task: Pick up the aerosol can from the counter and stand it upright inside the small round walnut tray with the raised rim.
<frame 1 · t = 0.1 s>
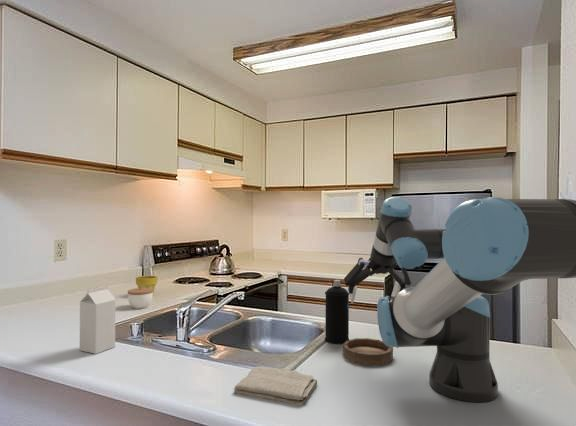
hand: (372, 299, 120), 15 cm above the counter, tool tilted 35°, fingers open, 13 cm apart
milk carton: (97, 349, 118), on the counter
plant pot: (146, 296, 195), on the counter
washcloth: (276, 391, 92), on the counter
round tray: (367, 356, 113), on the counter
lidded jar: (140, 307, 172), on the counter
aerosol can: (336, 340, 127), on the counter
coffee mug: (401, 332, 136), on the counter
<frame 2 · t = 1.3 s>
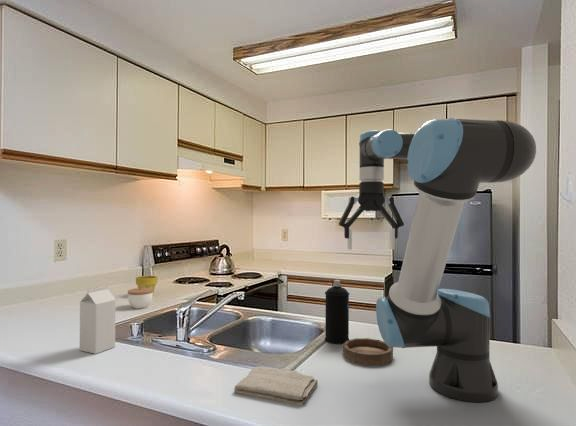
hand: (370, 249, 120), 31 cm above the counter, tool pointing down, fingers open, 13 cm apart
nothing on the counter moved.
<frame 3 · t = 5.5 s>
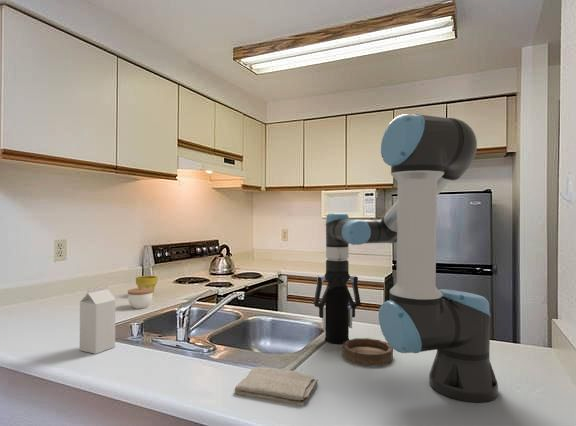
hand: (337, 327, 127), 4 cm above the counter, tool pointing down, fingers closed on aerosol can, 8 cm apart
aerosol can: (336, 340, 127), on the counter, touching gripper
everything else where it was.
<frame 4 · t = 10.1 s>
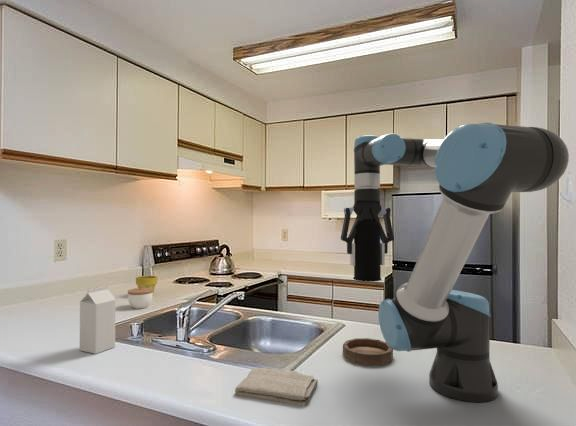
hand: (367, 264, 113), 27 cm above the counter, tool pointing down, fingers closed on aerosol can, 8 cm apart
aerosol can: (367, 280, 113), point 23 cm above the counter, touching gripper
everything else where it was.
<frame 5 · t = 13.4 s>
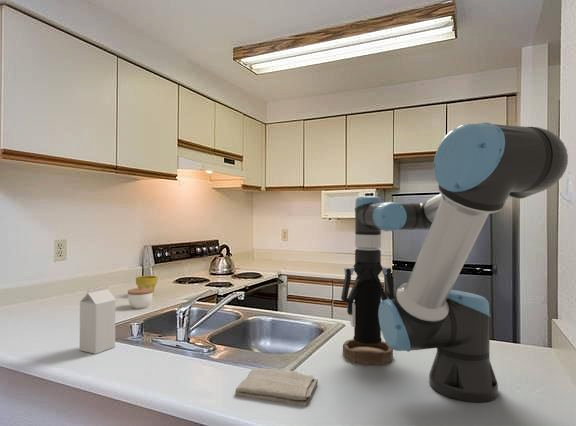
hand: (367, 325, 113), 9 cm above the counter, tool pointing down, fingers closed on aerosol can, 8 cm apart
aerosol can: (367, 340, 113), point 5 cm above the counter, touching gripper
everything else where it was.
when the fingers open (7 cm above the counter, at t = 15.0 s): aerosol can drops 1 cm, resting on round tray.
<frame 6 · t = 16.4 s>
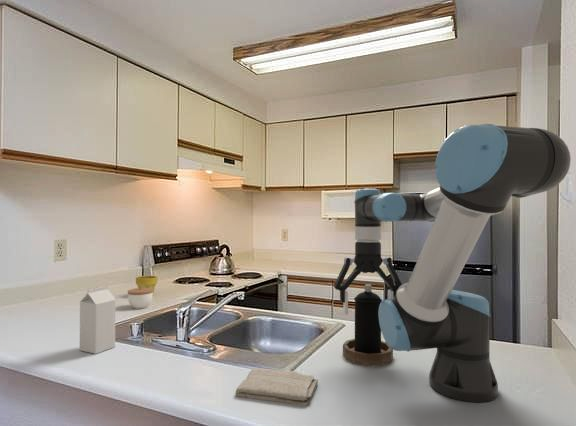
hand: (368, 313, 113), 13 cm above the counter, tool pointing down, fingers open, 13 cm apart
aerosol can: (367, 353, 113), point 1 cm above the counter, touching round tray
everything else where it was.
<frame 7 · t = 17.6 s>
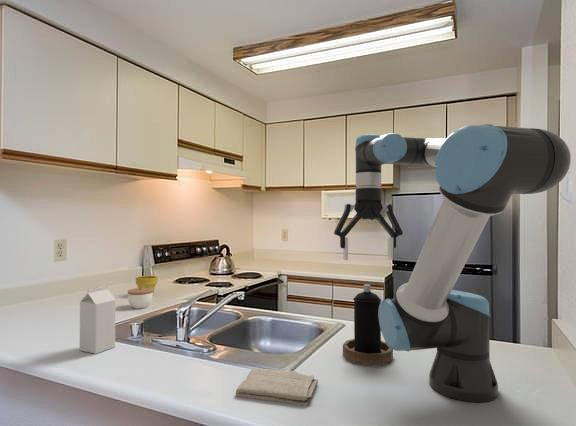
hand: (368, 259, 113), 29 cm above the counter, tool pointing down, fingers open, 13 cm apart
nothing on the counter moved.
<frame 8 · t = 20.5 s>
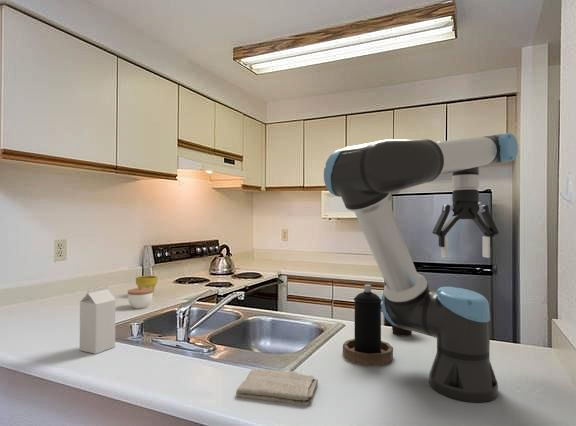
hand: (465, 257, 119), 29 cm above the counter, tool pointing down, fingers open, 13 cm apart
nothing on the counter moved.
at the end: aerosol can 0.0 cm off-centre on the round tray, point 0.8 cm above the round tray's base; aerosol can tilted 0°; the gripper is holding nothing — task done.
